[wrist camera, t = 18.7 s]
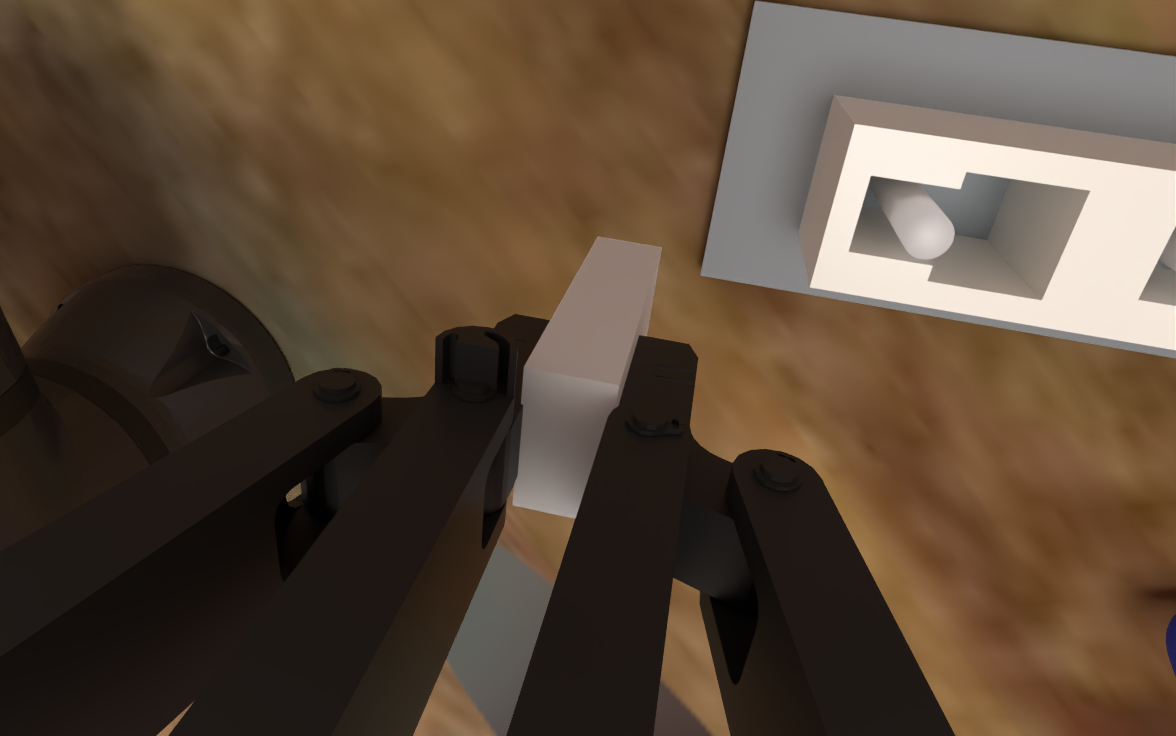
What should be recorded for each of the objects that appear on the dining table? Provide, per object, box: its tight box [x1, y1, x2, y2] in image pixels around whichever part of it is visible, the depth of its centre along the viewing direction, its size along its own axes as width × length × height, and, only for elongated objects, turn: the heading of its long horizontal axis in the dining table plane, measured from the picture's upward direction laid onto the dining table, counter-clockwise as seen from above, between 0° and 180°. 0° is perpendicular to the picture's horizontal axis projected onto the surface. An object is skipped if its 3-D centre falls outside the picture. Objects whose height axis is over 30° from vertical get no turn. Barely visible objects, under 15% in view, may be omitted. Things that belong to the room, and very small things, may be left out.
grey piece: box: [700, 0, 1176, 358], centre depth 29 cm, size 24×12×10 cm, turn 84°
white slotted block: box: [798, 95, 1176, 350], centre depth 28 cm, size 22×6×7 cm, turn 84°
